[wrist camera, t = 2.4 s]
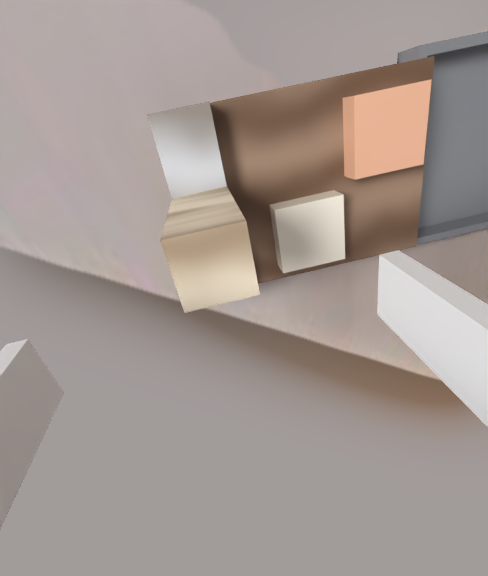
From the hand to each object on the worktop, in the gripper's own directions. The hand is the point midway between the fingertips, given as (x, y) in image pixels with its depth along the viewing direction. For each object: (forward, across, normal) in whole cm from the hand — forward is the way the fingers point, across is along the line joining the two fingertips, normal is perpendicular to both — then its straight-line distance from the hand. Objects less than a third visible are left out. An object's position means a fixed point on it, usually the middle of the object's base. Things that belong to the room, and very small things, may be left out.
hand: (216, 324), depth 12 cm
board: (+22, -9, 0) cm, 24 cm away
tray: (+22, -27, 0) cm, 35 cm away
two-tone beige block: (+17, 0, 0) cm, 17 cm away
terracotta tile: (+17, -16, -3) cm, 24 cm away
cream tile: (+17, -9, +4) cm, 20 cm away
